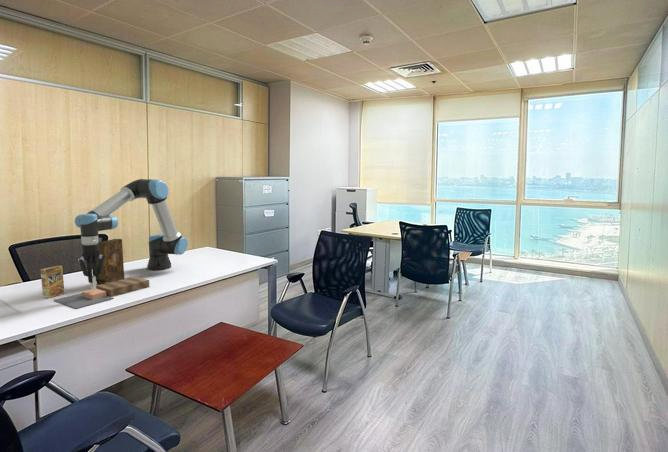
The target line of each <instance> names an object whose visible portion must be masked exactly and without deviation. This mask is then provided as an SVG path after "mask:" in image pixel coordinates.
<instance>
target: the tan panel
mask: <svg viewBox="0 0 668 452" xmlns="http://www.w3.org/2000/svg"><path fill="white" fill-rule="evenodd" d="M150 287H151V286H150V280H149V279H146V278H142V277H138V276H131V277H127V278H124V279H122V280H118V281H113V282H109V283H105V284H100V285H97V284H96V289H100V290H103V291H106V294H107V296H108V297H112V298H114V297H117V296H121V295H125V294H129V293H132V292H137V291H139V290H144V289H147V288H150Z"/></svg>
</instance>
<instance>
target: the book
mask: <svg viewBox="0 0 668 452" xmlns="http://www.w3.org/2000/svg"><path fill="white" fill-rule="evenodd" d="M98 244H99V252H100V254H101V255H104V256H105V258H104V260H103V264H102V270H101V274H98V276H97V282H96V285H100V284H105V283H109V282H113V281H118V280H122V279H125V268H124V266H125V265H124V252H123V250H124V248H123V239H122V238H113V239H109V240H103V241H100V242H98ZM98 259H99V257H98ZM98 259H97V265H98Z"/></svg>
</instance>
